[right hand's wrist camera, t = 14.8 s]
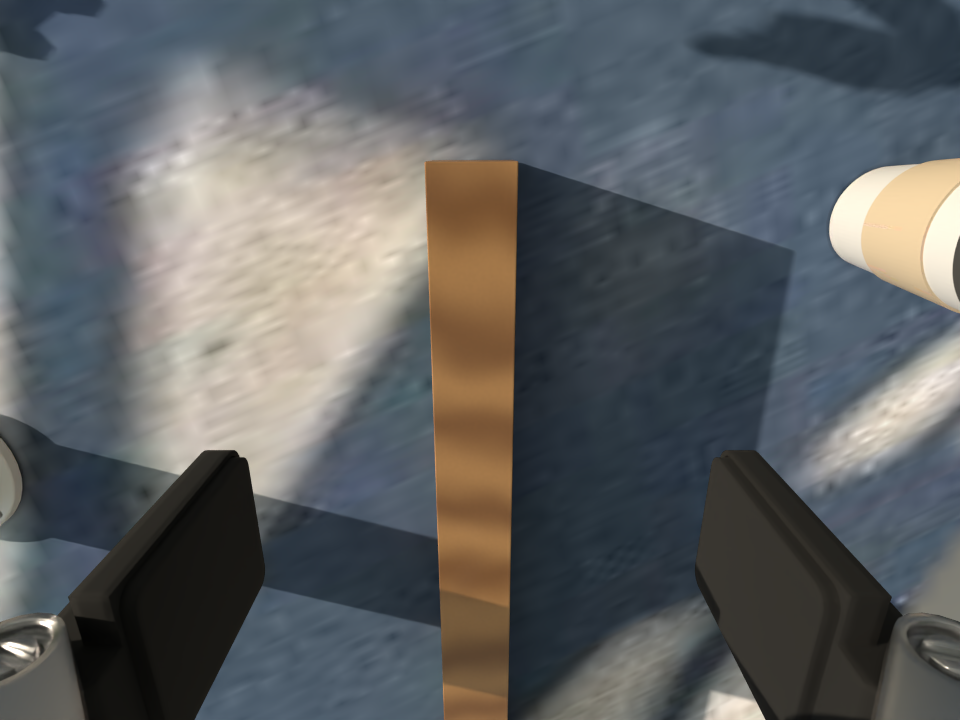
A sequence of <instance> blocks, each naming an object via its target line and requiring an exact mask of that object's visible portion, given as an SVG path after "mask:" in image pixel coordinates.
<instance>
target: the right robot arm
mask: <svg viewBox="0 0 960 720" xmlns="http://www.w3.org/2000/svg"><path fill="white" fill-rule="evenodd" d="M21 495H22V477H21V473H20V470H19V467H18V464H17V462H16V460H15V458H14V456H13V454H12V452H11V450H10V449H9V448H8V446H7V445H6V444H5V442H4V441H3V440H2V439H1V438H0V526H1V525H2V524H3V523H4V522H6V521H7V520H8V519H9V518H10V517H11V516H12V515H13V513H14V512H15V511H16V509H17V507H18V505H19V503H20V501H21ZM264 575H265V564H264V558H263V552H262V545H261V539H260V533H259V527H258V521H257V515H256V508H255V502H254V496H253V490H252V484H251V477H250V471H249V465H248V461H247V460H246V458H244V457H239V455H238V453H237V452H236V451H235V450H206V451H204V452H202V453H201V454H200V455H199V456H198V457H197V459H196V460H195V461H194V462H193V463H192V464H191V465H190V466H189V467H188V468H187V469H186V470H185V471H184V473H183V474H182V475H181V476H180V477H179V478H178V479H177V480H176V481H175V482H174V483H173V484H172V486H171V487H170V488H169V489H168V490H167V491H166V492H165V493H164V494H163V495H162V496H161V497H160V498H159V500H158V501H157V502H156V503H155V504H154V505H153V506H152V507H151V508H150V509H149V510H148V511H147V512H146V514H145V515H144V516H143V517H142V518H141V519H140V520H139V521H138V522H137V523H136V524H135V525H134V526H133V528H132V529H131V530H130V531H129V532H128V533H127V534H126V535H125V536H124V537H123V538H122V539H121V541H120V542H119V543H118V544H117V545H116V546H115V547H114V548H113V549H112V550H111V551H110V552H109V553H108V555H107V556H106V557H105V558H104V559H103V560H102V561H101V562H100V563H99V564H98V565H97V566H96V567H95V569H94V570H93V571H92V572H91V573H90V574H89V575H88V576H87V577H86V578H85V579H84V580H83V582H82V583H81V584H80V585H79V586H78V587H77V588H76V589H75V590H74V591H73V592H72V593H71V594H70V596H69V597H68V598H69V601H70V602H69V603H68V605H67V606H66V607H65V608H64V609H63V610H62V611H61V612H60V613H59V614H58V616H56V615H54V614H50V613H33V614H26V615H20V616H17V617H14V618H11V619H8V620H5V621H2V622H0V720H195V718H196V716H197V714H198V712H199V710H200V708H201V706H202V704H203V702H204V700H205V698H206V696H207V694H208V692H209V690H210V688H211V686H212V684H213V682H214V680H215V678H216V676H217V674H218V672H219V670H220V668H221V666H222V664H223V662H224V660H225V658H226V656H227V654H228V652H229V650H230V648H231V646H232V644H233V642H234V640H235V638H236V636H237V634H238V632H239V630H240V628H241V626H242V624H243V622H244V620H245V618H246V616H247V614H248V612H249V610H250V608H251V606H252V604H253V602H254V600H255V598H256V596H257V594H258V592H259V591H260V589H261V586H262V584H263V581H264ZM695 576H696V581H697V584H698V586H699V589H700V591H701V592H702V594H703V596H704V598H705V600H706V602H707V604H708V606H709V608H710V610H711V612H712V614H713V616H714V618H715V620H716V622H717V624H718V626H719V628H720V630H721V632H722V634H723V636H724V638H725V640H726V642H727V644H728V646H729V648H730V650H731V652H732V654H733V656H734V658H735V660H736V662H737V664H738V666H739V668H740V670H741V672H742V674H743V676H744V678H745V680H746V682H747V684H748V686H749V688H750V690H751V692H752V694H753V696H754V698H755V700H756V702H757V704H758V706H759V708H760V710H761V712H762V714H763V716H764V718H765V720H960V622H958V621H955V620H952V619H949V618H946V617H943V616H940V615H934V614H927V613H910V614H906V615H904V616H902V614H901V613H900V612H899V611H898V610H897V609H896V608H895V607H894V606H893V605H892V603H891V602H890V601H891V598H892V597H891V596H890V594H889V593H888V592H887V591H886V590H885V589H884V588H883V587H882V586H881V585H880V584H879V583H878V582H877V580H876V579H875V578H874V577H873V576H872V575H871V574H870V573H869V572H868V571H867V570H866V569H865V567H864V566H863V565H862V564H861V563H860V562H859V561H858V560H857V559H856V558H855V557H854V556H853V555H852V553H851V552H850V551H849V550H848V549H847V548H846V547H845V546H844V545H843V544H842V543H841V542H840V541H839V539H838V538H837V537H836V536H835V535H834V534H833V533H832V532H831V531H830V530H829V529H828V528H827V526H826V525H825V524H824V523H823V522H822V521H821V520H820V519H819V518H818V517H817V516H816V515H815V514H814V512H813V511H812V510H811V509H810V508H809V507H808V506H807V505H806V504H805V503H804V502H803V501H802V500H801V498H800V497H799V496H798V495H797V494H796V493H795V492H794V491H793V490H792V489H791V488H790V487H789V486H788V484H787V483H786V482H785V481H784V480H783V479H782V478H781V477H780V476H779V475H778V474H777V473H776V471H775V470H774V469H773V468H772V467H771V466H770V465H769V464H768V463H767V462H766V461H765V460H764V459H763V457H762V456H761V455H760V454H759V453H758V452H756V451H754V450H725V451H724V452H723V453H722V455H721V457H716V458H714V460H713V461H712V465H711V471H710V477H709V484H708V490H707V496H706V502H705V508H704V515H703V521H702V527H701V533H700V539H699V545H698V552H697V558H696V564H695Z"/></svg>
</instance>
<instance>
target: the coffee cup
mask: <svg viewBox="0 0 960 720" xmlns="http://www.w3.org/2000/svg"><path fill="white" fill-rule="evenodd" d="M829 233H830V239H831V243H832V245H833V248H834V249H835V251H836V252H837V254H838V255H839V256H840V257H841V258H842V259H844V260H845V261H847V262H849V263H851V264H853V265H855V266H858V267H860V268H862V269H865V270H867V271H869V272H871V273H874V274H875V275H876V276H878V277H879V278H881V279H882V280H884V281H886V282H889V283H891V284H893V285H895V286H898V287H900V288H902V289H904V290H907V291H909V292H911V293H913V294H916V295H918V296H920V297H923V298H925V299H927V300H929V301H932V302H934V303H936V304H938V305H941V306H943V307H945V308H947V309H950V310H952V311H954V312H957V313H960V158H957V159H946V160H935V161H929V162H925V163H922V164H913V165H900V166H888V167H882V168H878V169H875V170H872V171H870V172H868V173H866V174H864V175H862V176H861V177H859V178H858V179H857V180H855V181H854V182H853V183H852V184H851V185H850V186H849V187H848V188H847V189H846V190H845V191H844V192H843V194H842V195H841V196H840V198H839V199H838V201H837V203H836V205H835V207H834V209H833V212H832V215H831V219H830V226H829Z"/></svg>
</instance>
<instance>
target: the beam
mask: <svg viewBox="0 0 960 720" xmlns="http://www.w3.org/2000/svg"><path fill="white" fill-rule="evenodd" d="M425 184H426V212H427V241H428V269H429V298H430V326H431V355H432V384H433V412H434V441H435V469H436V498H437V526H438V555H439V583H440V612H441V640H442V669H443V697H444V720H508V673H509V621H510V569H511V516H512V464H513V412H514V360H515V307H516V255H517V203H518V161H514V160H432V161H426V162H425Z"/></svg>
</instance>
